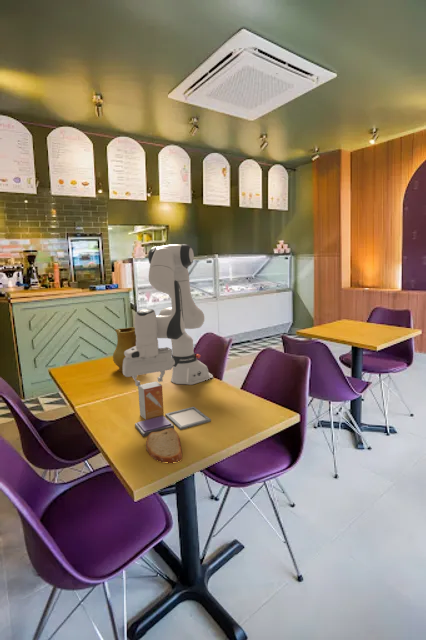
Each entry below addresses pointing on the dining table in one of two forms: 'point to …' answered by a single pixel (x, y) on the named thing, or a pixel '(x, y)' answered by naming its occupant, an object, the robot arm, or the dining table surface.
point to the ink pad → (153, 425)
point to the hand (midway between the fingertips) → (149, 383)
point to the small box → (150, 400)
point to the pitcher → (123, 345)
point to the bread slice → (164, 446)
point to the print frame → (187, 417)
